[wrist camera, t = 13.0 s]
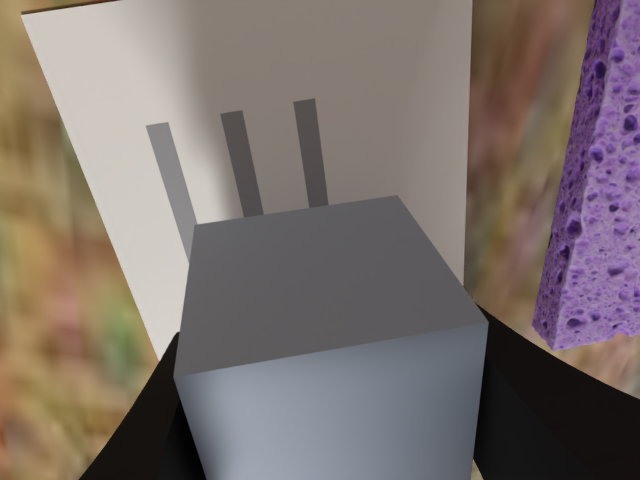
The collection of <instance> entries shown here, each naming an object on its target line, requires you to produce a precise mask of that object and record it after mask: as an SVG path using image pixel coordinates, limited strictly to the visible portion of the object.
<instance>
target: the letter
mask: <svg viewBox="0 0 640 480" xmlns="http://www.w3.org/2000/svg"><path fill="white" fill-rule="evenodd" d="M21 18H22V20H23V23H24V25H25V28H26V30H27V33H28V35H29V38H30V40H31V43H32V45H33V48H34V50H35V53H36V55H37V58H38V60H39V63H40V65H41V68H42V70H43V73H44V75H45V78H46V80H47V83H48V85H49V88H50V90H51V93H52V95H53V98H54V100H55V103H56V105H57V108H58V110H59V113H60V115H61V118H62V120H63V123H64V125H65V128H66V130H67V133H68V135H69V138H70V140H71V143H72V145H73V148H74V150H75V152H76V155H77V157H78V160H79V162H80V165H81V167H82V170H83V172H84V175H85V177H86V180H87V182H88V185H89V187H90V190H91V192H92V195H93V197H94V200H95V202H96V205H97V207H98V210H99V212H100V215H101V217H102V220H103V222H104V225H105V227H106V230H107V232H108V235H109V237H110V240H111V242H112V245H113V247H114V250H115V252H116V255H117V257H118V260H119V262H120V265H121V267H122V270H123V272H124V275H125V277H126V280H127V282H128V285H129V287H130V290H131V292H132V295H133V297H134V300H135V302H136V305H137V307H138V310H139V312H140V315H141V317H142V320H143V322H144V325H145V327H146V330H147V332H148V335H149V337H150V340H151V342H152V345H153V347H154V350H155V352H156V355H157V357H158V360H159V361H160V360H161V358H162V356H163V354H164V353H165V351H166V349H167V347H168V345H169V344H170V342H171V340H172V338H173V337H174V335H175V334H176V333H177V332H179V331H180V326H181V319H182V311H183V304H184V297H185V290H186V283H187V276H188V269H189V261H190V254H191V247H192V240H193V233H194V226H195V225H196V224H203V223H210V222H217V221H224V220H231V219H237V218H244V217H251V216H258V215H265V214H272V213H278V212H285V211H292V210H299V209H306V208H313V207H320V206H326V205H333V204H340V203H347V202H354V201H361V200H367V199H374V198H381V197H388V196H395V195H398V196H399V198H400V199H401V201H402V202H403V203H404V205H405V206H406V208H407V209H408V210H409V212H410V213H411V215H412V216H413V217H414V219H415V220H416V221H417V223H418V224H419V226H420V227H421V228H422V230H423V231H424V233H425V234H426V235H427V237H428V238H429V240H430V241H431V242H432V244H433V245H434V247H435V248H436V249H437V251H438V252H439V254H440V255H441V256H442V258H443V259H444V261H445V262H446V263H447V265H448V266H449V268H450V269H451V270H452V272H453V273H454V274H455V276H456V277H457V279H458V280H459V281H460V283H461V284H462V286H463V279H464V248H465V217H466V186H467V155H468V124H469V92H470V61H471V30H472V0H120V1H113V2H106V3H99V4H93V5H86V6H79V7H72V8H66V9H59V10H52V11H45V12H38V13H32V14H25V15H21Z"/></svg>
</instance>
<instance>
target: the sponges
mask: <svg viewBox="0 0 640 480" xmlns="http://www.w3.org/2000/svg"><path fill="white" fill-rule="evenodd" d="M581 76H582V80H581V86H580V88H579V91H578V93H577V97H576V102H575V110H574V114H573V121H572V125H571V134H570V138H569V142H568V145H567V150H566V157H565V161H564V166H563V172H562V178H561V183H560V186H559V193H558V198H557V202H556V208H555V213H554V219H553V223H552V227H551V231H552V235H551V238H550V246H549V247H548V249H547V252H546V257H545V262H544V267H543V272H542V277H541V283H540V286H539V291H538V296H537V301H536V306H535V312H534V319H533V323H532V326H533V327H534V329H535V331H536V332H537V333H538V334H539V335H540V336H541V337H542V339H544V340H546V342H547V344H548V345H549V347H550V348H551V350H552V351H558V350H562V349H563V350H564V349H568V348H573V347H578V346H580V345H590V344H594V343H597V342H604V341H609V340H612V339H613V337H614V336H615V335H616V334H618V333H624V334H626V335H628V336H635V335H637V334H640V0H596V4H595V7H594V10H593V13H592V17H591V21H590V27H589V33H588V38H587V51H586V54H585V57H584V60H583V64H582V68H581Z"/></svg>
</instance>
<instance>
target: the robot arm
mask: <svg viewBox="0 0 640 480" xmlns="http://www.w3.org/2000/svg"><path fill="white" fill-rule="evenodd" d="M475 304H476V303H475ZM476 305H477V304H476ZM477 307H478V308H479V309H480V311H481V312H482V314H483V315H484V316H485V318H486V319H487V321H488V322H489V324H488V333H487V342H486V350H485V359H484V367H483V376H482V385H481V393H480V402H479V410H478V419H477V428H476V436H475V445H474V453H473V459H474V461H475V463H476V465H477V467H478V469H479V471H480V473H481V475H482V477H483V479H484V480H640V399H638V398H635V397H633V396H631V395H629V394H626V393H624V392H622V391H620V390H618V389H615V388H613V387H611V386H609V385H607V384H605V383H603V382H601V381H599V380H597V379H595V378H593V377H591V376H589V375H588V374H586V373H584V372H582V371H580V370H578V369H576V368H574V367H572V366H570V365H569V364H567V363H565V362H563V361H562V360H560V359H558V358H556V357H555V356H553V355H551V354H550V353H548V352H546V351H545V350H543V349H542V348H540V347H538V346H537V345H535V344H533V343H532V342H530V341H529V340H527V339H526V338H524V337H522V336H521V335H519V334H518V333H516V332H515V331H514V330H512V329H511V328H509V327H508V326H506V325H505V324H503V323H502V322H501V321H499V320H498V319H496V318H495V317H494V316H492V315H491V314H489V313H488V312H487V311H485V310H484V309H483V308H481V307H480V306H479V305H477ZM179 333H180V331H179V332H177V333H176V334H175V335H174V337H173V338H172V340H171V342H170V344H169V345H168V347H167V349H166V351H165V353H164V354H163V356H162V358H161V360H160V361H159V363H158V365H157V367H156V368H155V370H154V372H153V373H152V375H151V377H150V378H149V380H148V382H147V383H146V385H145V387H144V388H143V390H142V391H141V393H140V395H139V396H138V398H137V399H136V401H135V403H134V404H133V406H132V407H131V409H130V410H129V412H128V413H127V415H126V416H125V418H124V419H123V421H122V422H121V424H120V425H119V426H118V428H117V429H116V431H115V432H114V434H113V435H112V437H111V438H110V439H109V441H108V442H107V444H106V445H105V446H104V448H103V449H102V450H101V452H100V453H99V454H98V456H97V457H96V458H95V460H94V461H93V462H92V464H91V465H90V466H89V467H88V469H87V470H86V471H85V472H84V474H83V475H82V476H81V477H80V479H79V480H207V479H206V476H205V473H204V470H203V467H202V464H201V461H200V458H199V455H198V451H197V448H196V445H195V442H194V439H193V436H192V433H191V430H190V427H189V424H188V421H187V418H186V415H185V412H184V409H183V405H182V402H181V399H180V396H179V393H178V390H177V387H176V384H175V381H174V378H173V376H174V369H175V362H176V354H177V347H178V340H179Z"/></svg>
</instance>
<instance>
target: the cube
mask: <svg viewBox="0 0 640 480" xmlns="http://www.w3.org/2000/svg"><path fill="white" fill-rule="evenodd" d="M488 324H489V322H488V321H487V319H486V318H485V316H484V315H483V314H482V312H481V311H480V309H479V308H478V307H477V305H476V304H475V302H474V301H473V300H472V298H471V297H470V295H469V294H468V293H467V291H466V290H465V288H464V287H463V286H462V284H461V283H460V281H459V280H458V279H457V277H456V276H455V274H454V273H453V272H452V270H451V269H450V268H449V266H448V265H447V263H446V262H445V261H444V259H443V258H442V256H441V255H440V254H439V252H438V251H437V249H436V248H435V247H434V245H433V244H432V242H431V241H430V240H429V238H428V237H427V235H426V234H425V233H424V231H423V230H422V228H421V227H420V226H419V224H418V223H417V221H416V220H415V219H414V217H413V216H412V215H411V213H410V212H409V210H408V209H407V208H406V206H405V205H404V203H403V202H402V201H401V199H400V198H399V196H398V195H395V196H388V197H381V198H374V199H367V200H361V201H354V202H347V203H340V204H333V205H326V206H320V207H313V208H306V209H299V210H292V211H285V212H278V213H272V214H265V215H258V216H251V217H244V218H237V219H231V220H224V221H217V222H210V223H203V224H196V225H195V226H194V233H193V240H192V247H191V254H190V261H189V269H188V276H187V283H186V290H185V297H184V304H183V311H182V319H181V326H180V333H179V340H178V347H177V354H176V362H175V369H174V376H173V378H174V381H175V384H176V387H177V390H178V393H179V396H180V399H181V402H182V405H183V409H184V412H185V415H186V418H187V421H188V424H189V427H190V430H191V433H192V436H193V439H194V442H195V445H196V448H197V451H198V455H199V458H200V461H201V464H202V467H203V470H204V473H205V476H206V479H207V480H470V479H471V471H472V462H473V453H474V445H475V436H476V428H477V419H478V410H479V402H480V393H481V385H482V376H483V367H484V359H485V350H486V342H487V333H488Z"/></svg>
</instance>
